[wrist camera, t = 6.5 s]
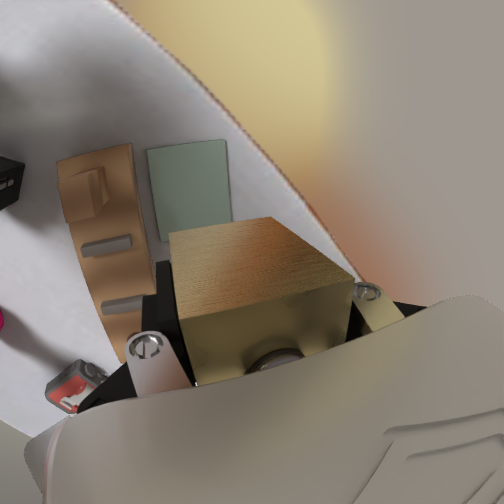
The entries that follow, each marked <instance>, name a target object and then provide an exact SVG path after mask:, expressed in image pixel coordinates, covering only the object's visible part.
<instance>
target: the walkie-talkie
mask: <svg viewBox="0 0 504 504" xmlns="http://www.w3.org/2000/svg"><path fill="white" fill-rule="evenodd" d="M106 379H107V378H106V377H104V376H103V375H101V374H100V373H98V372H97V371H96V369H95V367H94V366H93V365H92V364H90V363H88V364H86V363H85V362H84V361H82V360H77V361H76V362H74V363H73V364H72V365H70V366H69V367H68V368H67V369H65V370H64V371H63V372H62V373H60V374H59V375H58V376H57V377H55V378H54V379H53V380H51V382H49V383H48V384H47V386H46V390H45V397H46V399H47V400H48V401H49V402H51V403H52V404H54V405H55V406H57V407H58V408H60V409H61V410H63V411H64V412H66V413H68V414H75V413H77V409H78V406H79V404H80V403H81V402H82V400H83V399H84V398H85V397H86V396H88V395H89V394H90V393H91V392H92V391H93V390H94V389H96V388H97V387H98V386H99V385H100V384H101V383H102V382H104V381H105V380H106Z"/></svg>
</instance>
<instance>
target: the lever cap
mask: <svg viewBox="0 0 504 504" xmlns="http://www.w3.org/2000/svg"><path fill="white" fill-rule="evenodd" d="M169 243H170V253H171V262H172V271H173V280H174V288H175V295H176V303H177V310H178V316H179V322H180V326H181V329H182V333H183V337H184V341H185V344H186V348H187V352H188V355H189V359H190V362H191V365H192V369H193V372H194V376H195V379H196V382H197V385H198V386H200V385H204V384H209V383H213V382H218V381H222V380H226V379H230V378H234V377H238V376H242V375H246V374H250V373H254V372H257V371H261V370H264V369H268V368H271V367H275V366H278V365H281V364H285V363H288V362H291V361H294V360H297V359H301V358H304V357H307V356H310V355H313V354H315V353H318V352H321V351H324V350H327V349H330V348H332V347H335V346H338V345H341V344H343V343H345V339H346V334H347V328H348V322H349V316H350V310H351V304H352V297H353V290H354V282H355V278H354V277H353V276H352V275H350V274H349V273H348V272H346V271H345V270H344V269H342V268H341V267H340V266H338V265H337V264H336V263H334V262H333V261H332V260H330V259H329V258H328V257H326V256H325V255H324V254H322V253H321V252H320V251H318V250H317V249H316V248H314V247H313V246H311V245H310V244H309V243H307V242H306V241H305V240H303V239H302V238H300V237H299V236H298V235H296V234H295V233H293V232H292V231H291V230H289V229H288V228H286V227H285V226H284V225H282V224H281V223H279V222H278V221H277V220H275V219H274V218H272V217H264V218H257V219H251V220H244V221H238V222H231V223H225V224H219V225H212V226H206V227H200V228H194V229H188V230H182V231H177V232H171V233H169Z"/></svg>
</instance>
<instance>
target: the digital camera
mask: <svg viewBox="0 0 504 504" xmlns="http://www.w3.org/2000/svg"><path fill="white" fill-rule="evenodd" d="M22 167H23V168H22ZM19 168H20V169H19ZM16 169H17V170H16ZM24 169H25V164H24V163H21V162H17V161H14V160H11V159H8V158H5V157H1V156H0V211H1V210H2V209H4V208H6V207H7V206H9V205H11V204H12V203H14V202H16V201H17V200H18V198H19V192H20V187H21V182H22V177H23V173H24ZM13 170H14V171H13ZM10 171H11V172H10Z"/></svg>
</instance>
